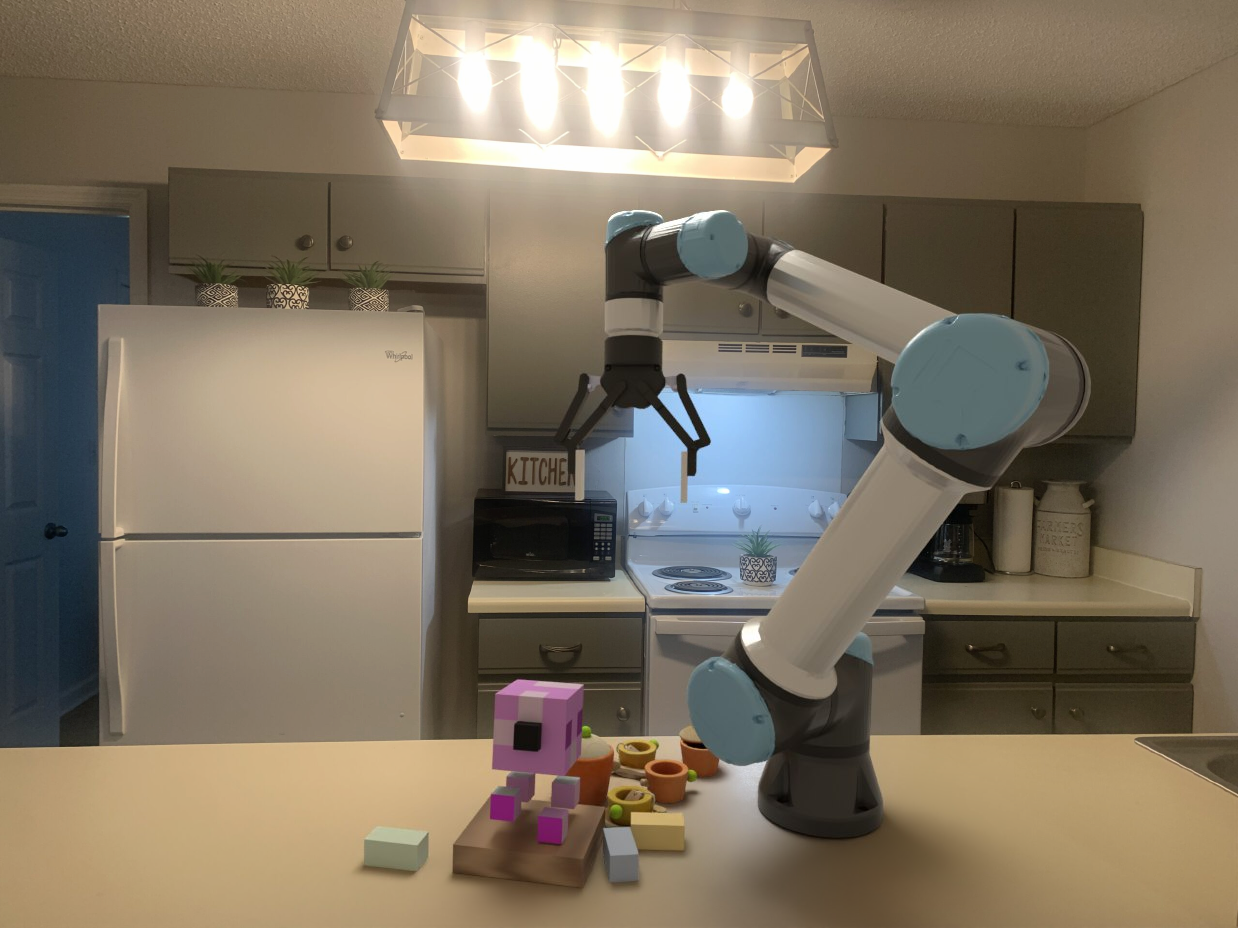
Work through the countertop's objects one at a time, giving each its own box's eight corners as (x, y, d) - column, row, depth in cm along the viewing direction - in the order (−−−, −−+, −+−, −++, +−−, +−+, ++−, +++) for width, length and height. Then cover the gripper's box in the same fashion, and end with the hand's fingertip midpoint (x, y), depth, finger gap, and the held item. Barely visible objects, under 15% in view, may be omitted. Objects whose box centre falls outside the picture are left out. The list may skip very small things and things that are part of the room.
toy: (558, 849, 85) (564, 702, 86) (484, 840, 86) (491, 696, 87) (581, 812, 95) (586, 682, 96) (515, 805, 97) (520, 677, 98)
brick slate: (602, 854, 91) (603, 827, 91) (629, 853, 91) (629, 826, 91) (609, 883, 85) (610, 855, 85) (638, 882, 85) (638, 853, 85)
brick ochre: (682, 838, 95) (682, 813, 95) (683, 851, 92) (684, 825, 92) (630, 837, 95) (631, 811, 95) (630, 850, 92) (630, 824, 92)
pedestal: (605, 832, 96) (605, 806, 96) (582, 887, 84) (583, 858, 84) (490, 819, 98) (490, 795, 98) (452, 872, 86) (452, 844, 86)
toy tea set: (635, 847, 93) (637, 763, 93) (531, 809, 102) (532, 732, 101) (739, 772, 114) (741, 704, 114) (645, 746, 123) (647, 682, 123)
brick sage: (428, 858, 89) (428, 831, 89) (417, 872, 86) (417, 844, 86) (376, 852, 90) (377, 825, 90) (363, 866, 87) (364, 839, 87)
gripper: (730, 340, 108) (727, 500, 109) (544, 340, 111) (543, 496, 112) (731, 332, 101) (728, 505, 101) (532, 333, 104) (530, 500, 104)
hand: (631, 501), depth 106 cm, fingers open, 13 cm apart
